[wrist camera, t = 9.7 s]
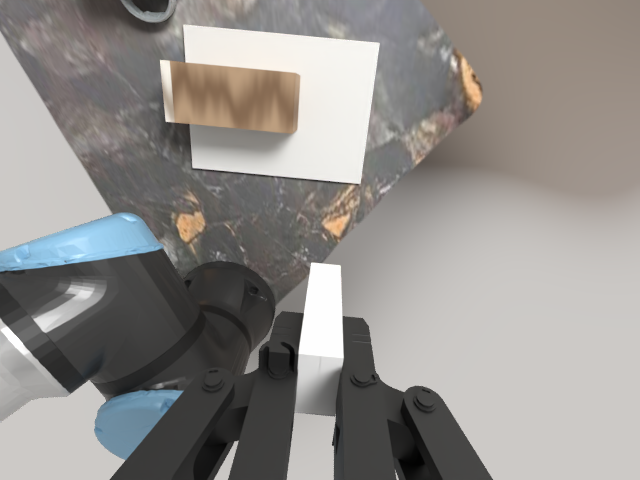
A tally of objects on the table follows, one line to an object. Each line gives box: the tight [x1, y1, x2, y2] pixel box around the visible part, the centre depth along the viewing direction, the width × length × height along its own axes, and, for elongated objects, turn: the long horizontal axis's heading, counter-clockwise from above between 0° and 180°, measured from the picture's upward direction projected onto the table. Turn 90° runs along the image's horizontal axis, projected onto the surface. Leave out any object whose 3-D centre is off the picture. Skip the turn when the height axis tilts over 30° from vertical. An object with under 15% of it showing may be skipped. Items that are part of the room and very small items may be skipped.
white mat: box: [183, 25, 380, 184], centre depth 40 cm, size 16×22×1 cm
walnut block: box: [160, 60, 300, 134], centre depth 38 cm, size 6×5×14 cm
